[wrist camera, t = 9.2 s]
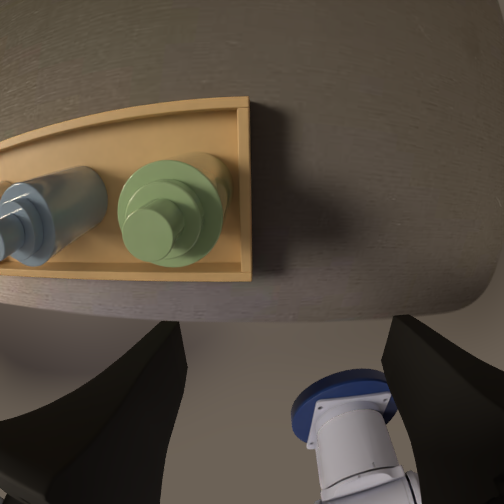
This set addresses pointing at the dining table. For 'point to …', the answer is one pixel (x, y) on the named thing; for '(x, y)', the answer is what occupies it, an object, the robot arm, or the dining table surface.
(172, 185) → the sage bottle
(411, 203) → the dining table surface
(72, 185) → the blue bottle
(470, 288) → the dining table surface
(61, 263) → the tray
